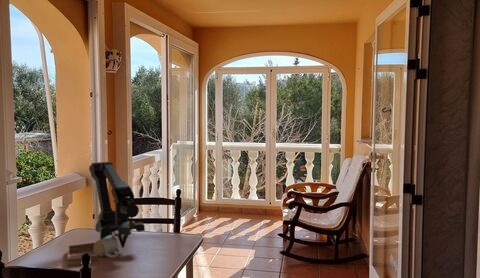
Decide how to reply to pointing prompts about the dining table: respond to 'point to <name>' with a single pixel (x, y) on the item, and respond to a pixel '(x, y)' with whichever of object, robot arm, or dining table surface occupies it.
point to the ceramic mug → (106, 246)
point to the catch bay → (81, 248)
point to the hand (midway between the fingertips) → (122, 247)
